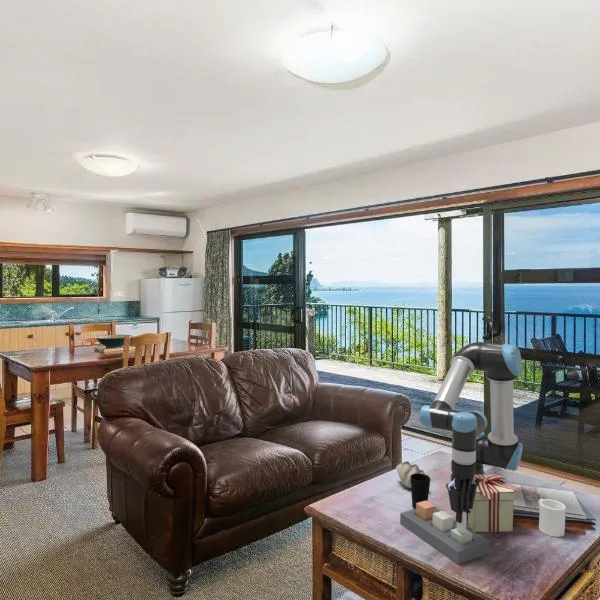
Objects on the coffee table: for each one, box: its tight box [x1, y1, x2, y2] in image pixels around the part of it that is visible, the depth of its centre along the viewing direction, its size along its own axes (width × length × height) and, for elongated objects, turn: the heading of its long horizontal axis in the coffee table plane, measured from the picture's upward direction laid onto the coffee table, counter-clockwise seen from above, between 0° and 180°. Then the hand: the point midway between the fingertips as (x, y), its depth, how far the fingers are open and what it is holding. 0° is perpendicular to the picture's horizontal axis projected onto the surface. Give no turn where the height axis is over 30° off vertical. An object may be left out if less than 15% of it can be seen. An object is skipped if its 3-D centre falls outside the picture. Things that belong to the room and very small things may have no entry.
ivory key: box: [432, 510, 454, 532], centre depth 167 cm, size 5×5×5 cm
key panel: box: [399, 508, 491, 565], centre depth 167 cm, size 14×28×4 cm, turn 28°
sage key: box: [450, 528, 472, 545], centre depth 160 cm, size 5×5×5 cm
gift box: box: [466, 473, 521, 533], centre depth 177 cm, size 17×18×17 cm
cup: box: [410, 473, 431, 509], centre depth 189 cm, size 8×8×12 cm
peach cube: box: [416, 500, 437, 521], centre depth 175 cm, size 5×5×5 cm
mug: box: [537, 498, 566, 538], centre depth 174 cm, size 8×12×10 cm
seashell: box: [395, 461, 426, 489], centre depth 207 cm, size 10×15×10 cm
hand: (461, 531), depth 159 cm, fingers closed
